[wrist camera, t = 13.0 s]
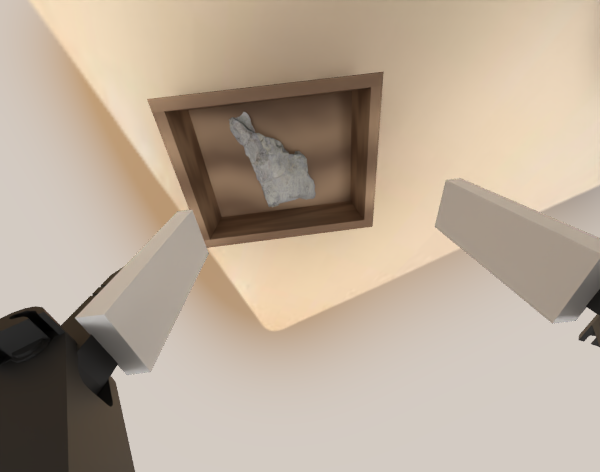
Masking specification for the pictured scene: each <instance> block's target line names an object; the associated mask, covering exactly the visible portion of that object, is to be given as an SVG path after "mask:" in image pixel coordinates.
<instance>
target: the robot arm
mask: <svg viewBox="0 0 600 472" xmlns="http://www.w3.org/2000/svg"><path fill="white" fill-rule="evenodd" d="M435 227H436V228H437V229H438V230H439V231H440V232H442V233H443V234H444V235H445V236H447V237H448V238H449V239H450V240H451V241H453V242H454V243H455V244H456V245H458V246H459V247H460V248H461V249H462V250H464V251H465V252H466V253H467V254H469V255H470V256H471V257H472V258H473V259H475V260H476V261H477V262H478V263H479V264H481V265H482V266H483V267H484V268H486V269H487V270H488V271H489V272H490V273H492V274H493V275H494V276H495V277H496V278H498V279H499V280H500V281H501V282H503V283H504V284H505V285H506V286H507V287H509V288H510V289H511V290H512V291H514V292H515V293H516V294H517V295H519V296H520V297H521V298H522V299H523V300H524V301H526V302H527V303H528V304H529V305H531V306H532V307H533V308H534V309H536V310H537V311H538V312H539V313H540V314H541V315H543V316H544V317H545V318H546V319H548V320H549V321H550V322H551V323H560V322H568V321H576V320H577V318H578V317H579V316H580V314H581V313H582V312H583V311H584V310H585V308H586V307H588V308H589V309H591V310H592V311H594V312H595V313H597V315H596V316H595V318H594V319H593V320H592V321H591V322H590V323H589V325H588V326H587V327H586V328H585V329H584V330H583V331H582V333H581V334H580V335H579V340H581V341H585V339H587V337H588V336H590V335H592V336H596V339H595V340H594V341H593V342H592V343H591V344H593V345H596V346H599V347H600V238H598V237H596V236H594V235H591V234H589V233H587V232H584V231H582V230H579V229H578V228H575V227H573V226H571V225H568V224H566V223H564V222H561V221H559V220H557V219H554V218H552V217H549V216H547V215H545V214H543V213H540V212H538V211H536V210H533V209H531V208H529V207H526V206H524V205H522V204H519V203H517V202H515V201H512V200H510V199H508V198H505V197H503V196H501V195H498V194H496V193H494V192H491V191H489V190H487V189H484V188H482V187H480V186H477V185H475V184H473V183H470V182H468V181H466V180H463V179H461V178H459V179H450V180H446V182H445V186H444V190H443V194H442V198H441V203H440V207H439V211H438V215H437V219H436V223H435ZM208 254H209V253H208V250H207V248H206V245H205V242H204V240H203V237H202V234H201V232H200V229H199V226H198V224H197V221H196V218H195V216H194V213H193V210H185V211H177V212H176V213H175V214H174V215H173V217H172V218H171V219H170V220H169V221H168V222H167V223H166V224H165V225H164V226H163V227H162V228H161V229H160V230H159V231H158V232H157V233H156V234H155V235H154V236H153V237H152V238H151V239H150V240H149V241H148V242H147V244H146V245H145V246H144V247H143V248H142V249H141V250H140V251H139V252H138V253H137V254H136V255H135V256H134V257H133V258H132V259H131V260H130V261H129V262H128V263H127V264H126V265H125V266H124V267H123V268H121V269H120V270H118V271H117V272H115V273H114V274H112V275H111V276H110V277H109V278H108V279H107V280H106V281H105V282H104V283H103V284H102V285H101V287H99V288H98V289H97V290H96V291H95V292H94V293H93V296H90V297H89V298H88V299H87V300H86V301H85V302H84V303H83V304H82V305H81V306H80V307H79V308H78V309H77V310H76V311H75V312H74V313H73V314H72V315H71V316H70V317H69V318H68V319H67V320H66V321H65V322H64V323H63V324H62V325H61V326H60V325H59V324H58V323H57V322H56V321H55V320H54V319H53V318H52V317H51V316H50V315H49V314H48V313H47V312H46V311H45V310H44V309H43V308H42V307H30V308H25V309H22V310H19V311H16V312H14V313H11V314H9V315H7V316H5V317H3V318H1V319H0V472H135V470H134V466H133V461H132V456H131V451H130V447H129V442H128V437H127V433H126V428H125V423H124V419H123V414H122V410H121V405H120V400H119V396H118V391H117V387H116V383H115V381H114V379H113V378H112V377H111V374H112V372H113V371H114V369H115V368H116V366H117V365H118V366H119V367H120V368H121V369H122V370H123V371H124V372H125V373H126V374H127V375H130V374H139V373H146V372H151V370H152V368H153V366H154V364H155V362H156V360H157V358H158V356H159V354H160V352H161V350H162V347H163V346H164V344H165V342H166V340H167V338H168V336H169V333H170V331H171V329H172V327H173V325H174V323H175V321H176V319H177V317H178V315H179V313H180V311H181V309H182V307H183V305H184V303H185V301H186V299H187V297H188V295H189V293H190V290H191V288H192V287H193V284H194V282H195V280H196V278H197V276H198V274H199V272H200V270H201V268H202V266H203V264H204V262H205V260H206V258H207V256H208Z"/></svg>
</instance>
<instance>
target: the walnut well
mask: <svg viewBox="0 0 600 472" xmlns="http://www.w3.org/2000/svg"><path fill="white" fill-rule="evenodd" d="M382 84H383V72H378V73H369V74H360V75H352V76H343V77H335V78H326V79H317V80H309V81H300V82H291V83H283V84H274V85H266V86H257V87H248V88H240V89H231V90H223V91H214V92H205V93H197V94H188V95H179V96H171V97H162V98H154V99H147V100H148V102H149V105H150V108H151V110H152V113H153V116H154V118H155V121H156V123H157V126H158V129H159V131H160V134H161V136H162V139H163V142H164V144H165V147H166V150H167V152H168V155H169V157H170V160H171V163H172V165H173V168H174V170H175V173H176V176H177V178H178V181H179V183H180V186H181V189H182V191H183V194H184V197H185V199H186V202H187V204H188V207H189V210H193V213H194V216H195V218H196V221H197V224H198V226H199V229H200V232H201V234H202V237H203V240H204V242H205V245H206V248H209V247H216V246H224V245H232V244H240V243H247V242H255V241H263V240H271V239H279V238H286V237H294V236H302V235H310V234H317V233H325V232H333V231H341V230H349V229H356V228H364V227H372V224H373V210H374V196H375V182H376V168H377V154H378V140H379V126H380V112H381V98H382ZM243 112H246V113H247V114H248V115H249V117H250V119H251V124H252V126H253V128H254V129H255V133H260V134H262V135H263V136H264V137H269V138H274V139H276V140H278V141H280V142H281V143H282V144H283V146H284V149H285V150H286V151H288V152H289V154H294V153H295V151H300V152H301V153H302V154H303V155H304V156H305V157H306V158H307V166H308V174H309V176H310V177H311V178H312V179H313V180H314V184H315V193H316V195H315V198H314V199H307V200H305V199H301V198H298V199H296V200H292V201H288V202H285V203H280V204H279V205H278V206H275V207H269V206H268V203H267V201H266V199H265V196H264V193H263V190H262V186H261V184H260V183H259V181H258V180H257V177H256V173H255V171H254V169H253V166H252V164H251V162H250V158H249V157H248V156H246V154H245V149H244V146H243V145H241V144H240V143H239V142H238V141H237V140H236V138H235V136H234V135H233V134H232V132H231V130H230V124H229V119H230V118H232V117H234V118H236V117H240V116H241V115H242V113H243Z"/></svg>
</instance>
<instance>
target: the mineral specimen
mask: <svg viewBox="0 0 600 472" xmlns="http://www.w3.org/2000/svg"><path fill="white" fill-rule="evenodd" d="M229 124H230V130H231V132H232V134H233V135H234V136H235V138H236V140H237V141H238V142H239V143H240V144H241V145H243V146H244V149H245V154H246V156H248V157H249V158H250V162H251V164H252V166H253V169H254V171H255V173H256V177H257V180H258V181H259V183H260V184H261V186H262V190H263V193H264V196H265V199H266V201H267V203H268V206H269V207H275V206H278V205H279V204H280V203H285V202H288V201H292V200H296V199H298V198H301V199H305V200H307V199H314V198H315V195H316V193H315V184H314V180H313V179H312V178H311V177H310V176H309V174H308V166H307V158H306V157H305V156H304V155H303V154H302V153H301V152H300V151H295V153H294V154H289V152H288V151H286V150H285V149H284V146H283V144H282V143H281V142H280V141H278V140H276V139H274V138H269V137H264V136H263V135H262V134H260V133H255V129H254V128H253V126H252V124H251V119H250V117H249V115H248V114H247V113H246V112H243V113H242V115H241V116H240V117H236V118H234V117H232V118H230V119H229Z"/></svg>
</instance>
